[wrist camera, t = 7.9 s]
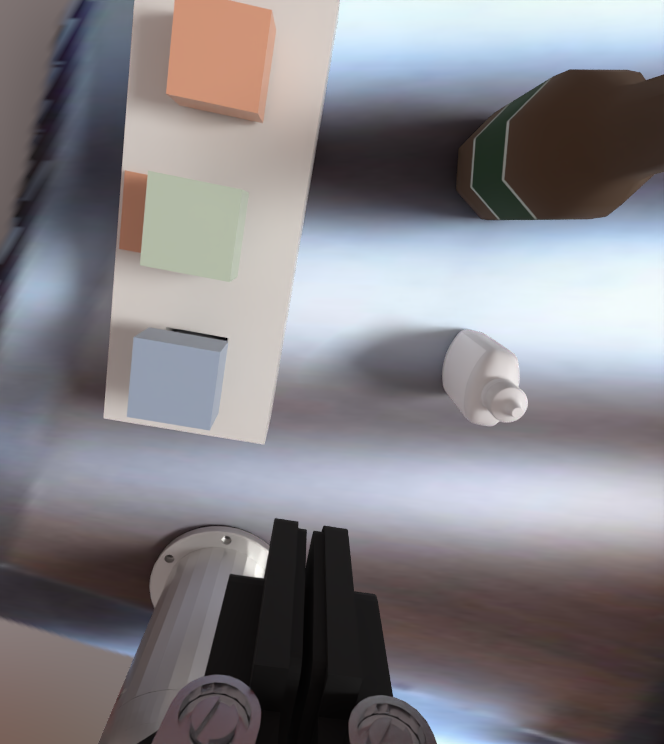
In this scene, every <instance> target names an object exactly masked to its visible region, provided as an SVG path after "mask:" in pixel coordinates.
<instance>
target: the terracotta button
mask: <svg viewBox="0 0 664 744" xmlns="http://www.w3.org/2000/svg"><path fill="white" fill-rule="evenodd" d="M275 35H276V27H275V22H274V17H273V12H272V10H270V9H265V8H261V7H257V6H252V5H248V4H244V3H239V2H235V1H231V0H175V2H174V13H173V24H172V34H171V45H170V56H169V67H168V78H167V89H166V94H167V95H168V96H169V97H170V98H172V99H173V100H174V101H175V102H176V103H177V104H179V105H180V106H185V107H189V108H194V109H199V110H203V111H208V112H213V113H217V114H222V115H227V116H231V117H236V118H241V119H246V120H250V121H255V122H260V123H263V120H264V113H265V106H266V99H267V92H268V85H269V78H270V71H271V63H272V56H273V49H274V42H275Z"/></svg>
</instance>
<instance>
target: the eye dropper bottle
mask: <svg viewBox="0 0 664 744" xmlns="http://www.w3.org/2000/svg"><path fill="white" fill-rule="evenodd" d="M442 382H443V388H444V390H445V392H446V393H447V394H448V396H449V397H450V398H451V400H452V401H453V402H454V404H455V405H456V406H457V407H458V409H459V410H460V411H461V413H462V414H463V415H464V416H465V417H466V419H467V420H469V421H470V422H472V423H475V424H479V425H484V426H493V425H495V424H497V423H498V422H499V421H501V422H505V423H506V422H507V423H508V422H512V421H516V420H517V419H519V418H520V417H522V415H523V414H524V413H525V411H526V409H527V405H528V400H527V397H526V395H525V393H524V392H523V391H522V390H521V389H520V388H518V387H519V364H518V359H517V357H516V355H515V354H514V353H512V352H511V351H510V350H508V349H507V348H505V347H504V346H502V345H501V344H500V343H498V342H497V341H495V340H494V339H492V338H491V337H489V336H487V335H486V334H484V333H482V332H478V331H474V330H469V329H465V330H462V331H460V332H459V333H458V334H457V336H456V337H455V338H454V340H453V341H452V343H451V344H450V346H449V348H448V350H447V353H446V355H445V359H444V363H443V369H442Z"/></svg>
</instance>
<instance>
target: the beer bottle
mask: <svg viewBox="0 0 664 744" xmlns="http://www.w3.org/2000/svg"><path fill="white" fill-rule="evenodd" d="M661 172H664V75H661V76H658V77H655V78H652V79H649V80H645V78H644V77H643V75H642V74H641V73H640V72H635V71H630V70H568V71H565V72H563V73H561V74H558V75H556V76H553V77H552V78H550V79H548V80H547V81H545V82H544V83H542V84H540V85H539V86H537V87H535V88H534V89H532V90H531V91H529V92H527V93H526V94H524V95H522V96H521V97H519V98H518V99H516V100H514V101H513V102H511V103H509V104H508V105H506V106H505V107H503V108H501V109H500V110H498V111H496V112H495V113H494V114H493V115H492V116H490V117H489V118H488V119H487V120H486V121H485V122H484V123H483V124H482V125H481V126H480V127H479V128H478V129H477V130H476V131H475V132H474V133H473V134H472V135H471V136H470V138H469V139H468V140H467V141H466V142H465V143H464V144H463V145H462V146H461V147H460V148H459V151H458V167H457V182H456V191H457V192H458V193H459V194H460V195H461V197H462V198H463V199H464V200H465V201H466V202H467V203H468V205H469V206H470V207H471V208H472V209H473V210H474V211H475V213H476V214H477V215H478V216H479V217H480V218H481V219H485V220H560V219H594V218H600V217H606V216H608V215H609V214H610V213H611V212H613V211H614V210H615V209H617V208H618V207H619V206H621V205H622V204H623V203H624V202H625V201H626V200H627V199H628V198H629V197H630V196H631V195H632V194H634V193H635V192H636V191H637V190H638V189H639V188H640V187H641V186H642V185H643V184H644V183H646V182H647V181H648V180H649V179H650V178H651V177H652V176H653V175H654V174H657V173H661Z"/></svg>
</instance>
